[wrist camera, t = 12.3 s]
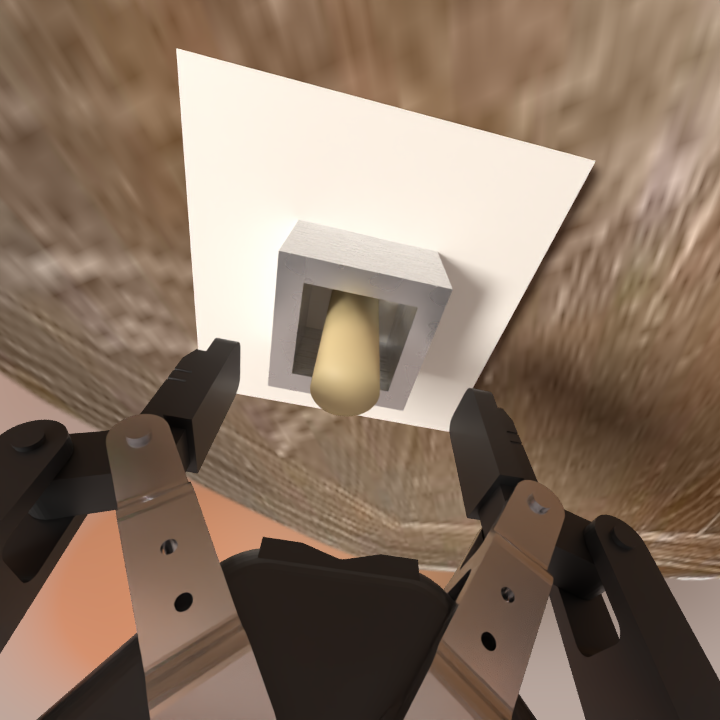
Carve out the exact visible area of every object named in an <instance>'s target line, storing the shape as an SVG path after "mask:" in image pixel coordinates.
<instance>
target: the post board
mask: <svg viewBox="0 0 720 720" xmlns="http://www.w3.org/2000/svg"><path fill="white" fill-rule="evenodd" d="M176 50H177V64H178V78H179V91H180V105H181V119H182V132H183V146H184V160H185V174H186V187H187V201H188V215H189V228H190V242H191V256H192V269H193V283H194V297H195V311H196V324H197V338H198V350H203V351H207V349H208V348H209V346H210V345H211V343H212V342H213V340H214V339H215V338H221V339H226V340H232V341H237V342H239V343H240V348H241V349H240V382H239V387H238V390H237V393H236V394H242V395H248V396H253V397H259V398H264V399H270V400H275V401H281V402H287V403H292V404H298V405H303V406H309V407H314V408H320V409H323V410H325V411H326V412H328V413H331V414H334V415H338V416H356V415H359V416H365V417H370V418H376V419H381V420H387V421H392V422H398V423H404V424H409V425H415V426H420V427H426V428H431V429H437V430H443V431H448V432H449V427H450V421H451V418H452V416H453V414H454V412H455V410H456V408H457V407H458V405H459V403H460V401H461V399H462V397H463V395H464V393H465V392H466V390H467V389H468V388H473V387H474V385H475V383H476V381H477V379H478V377H479V376H480V374H481V372H482V370H483V368H484V366H485V365H486V363H487V361H488V359H489V357H490V355H491V353H492V352H493V350H494V348H495V346H496V344H497V342H498V341H499V339H500V337H501V335H502V333H503V331H504V329H505V328H506V326H507V324H508V322H509V320H510V318H511V316H512V315H513V313H514V311H515V309H516V307H517V305H518V304H519V302H520V300H521V298H522V296H523V294H524V292H525V291H526V289H527V287H528V285H529V283H530V281H531V280H532V278H533V276H534V274H535V272H536V270H537V268H538V267H539V265H540V263H541V261H542V259H543V257H544V256H545V254H546V252H547V250H548V248H549V246H550V244H551V243H552V241H553V239H554V237H555V235H556V233H557V232H558V230H559V228H560V226H561V224H562V222H563V220H564V219H565V217H566V215H567V213H568V211H569V209H570V208H571V206H572V204H573V202H574V200H575V198H576V196H577V195H578V193H579V191H580V189H581V187H582V185H583V184H584V182H585V180H586V178H587V176H588V174H589V172H590V171H591V169H592V167H593V165H594V163H595V161H594V160H590V159H586V158H583V157H579V156H576V155H572V154H568V153H564V152H561V151H557V150H553V149H549V148H546V147H542V146H538V145H535V144H531V143H527V142H523V141H520V140H516V139H512V138H509V137H505V136H501V135H497V134H494V133H490V132H486V131H483V130H479V129H475V128H471V127H468V126H464V125H460V124H456V123H453V122H449V121H445V120H442V119H438V118H434V117H430V116H427V115H423V114H419V113H416V112H412V111H408V110H404V109H401V108H397V107H393V106H390V105H386V104H382V103H378V102H375V101H371V100H367V99H363V98H360V97H356V96H352V95H349V94H345V93H341V92H337V91H334V90H330V89H326V88H323V87H319V86H315V85H311V84H308V83H304V82H300V81H297V80H293V79H289V78H285V77H282V76H278V75H274V74H270V73H267V72H263V71H259V70H256V69H252V68H248V67H244V66H241V65H237V64H233V63H230V62H226V61H222V60H218V59H215V58H211V57H207V56H204V55H200V54H196V53H192V52H188V51H185V50H181V49H177V48H176ZM298 220H303V221H308V222H312V223H316V224H320V225H325V226H329V227H333V228H338V229H342V230H346V231H350V232H355V233H359V234H363V235H368V236H372V237H376V238H381V239H385V240H389V241H393V242H398V243H402V244H406V245H411V246H415V247H419V248H424V249H428V250H432V251H436V252H438V254H439V257H440V259H441V262H442V264H443V267H444V269H445V272H446V274H447V276H448V279H449V281H450V284H451V286H452V289H453V290H452V293H451V295H450V297H449V300H448V302H447V305H446V307H445V310H444V312H443V315H442V317H441V319H440V322H439V324H438V327H437V329H436V332H435V334H434V337H433V339H432V342H431V344H430V346H429V349H428V351H427V354H426V356H425V359H424V361H423V364H422V366H421V369H420V371H419V373H418V376H417V378H416V381H415V383H414V386H413V388H412V391H411V393H410V395H409V398H408V400H407V403H406V405H405V408H404V410H403V411H401V410H396V409H390V408H385V407H379V406H374V405H375V404H376V403H377V401H378V399H379V396H380V357H379V342H384V343H386V342H387V339H388V335H389V332H390V329H391V326H392V323H393V320H394V316H395V313H396V310H397V307H398V304H399V303H395V302H391V301H386V300H381V299H377V298H372V297H367V296H363V295H358V294H353V293H349V292H344V291H339V290H335V289H330V288H326V287H321V286H316V285H312V291H311V297H310V304H309V311H308V318H307V325H306V327H311V328H315V329H320V330H323V332H322V337H321V341H320V345H319V350H318V354H317V359H316V363H315V367H314V372H313V376H312V380H311V385H310V393H311V394H309V393H303V392H298V391H293V390H287V389H282V388H276V387H271V386H268V377H269V365H270V352H271V340H272V327H273V315H274V303H275V290H276V278H277V265H278V253H279V249H280V248H281V246H282V245H283V243H284V242H285V240H286V238H287V237H288V235H289V234H290V232H291V231H292V229H293V228H294V226H295V225H296V223H297V221H298Z"/></svg>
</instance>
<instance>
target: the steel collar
mask: <svg viewBox="0 0 720 720" xmlns="http://www.w3.org/2000/svg"><path fill="white" fill-rule="evenodd" d="M312 285H316V286H321V287H326V288H330V289H335V290H339V291H344V292H349V293H353V294H358V295H363V296H367V297H372V298H377V299H381V300H386V301H391V302H395V303H399V304H398V307H397V310H396V313H395V316H394V320H393V323H392V326H391V329H390V332H389V335H388V339H387V342H386V343H384V342H379V357H380V396H379V399H378V401H377V403H376V404H375V405H374V406H379V407H385V408H390V409H396V410H401V411H403V410H404V408H405V405H406V403H407V400H408V398H409V395H410V393H411V391H412V388H413V386H414V383H415V381H416V378H417V376H418V373H419V371H420V369H421V366H422V364H423V361H424V359H425V356H426V354H427V351H428V349H429V346H430V344H431V342H432V339H433V337H434V334H435V332H436V329H437V327H438V324H439V322H440V319H441V317H442V315H443V312H444V310H445V307H446V305H447V302H448V300H449V297H450V295H451V293H452V290H453V289H452V286H451V284H450V281H449V279H448V276H447V274H446V272H445V269H444V267H443V264H442V262H441V259H440V257H439V254H438V252H436V251H432V250H428V249H424V248H419V247H415V246H411V245H406V244H402V243H398V242H393V241H389V240H385V239H381V238H376V237H372V236H368V235H363V234H359V233H355V232H350V231H346V230H342V229H338V228H333V227H329V226H325V225H320V224H316V223H312V222H308V221H303V220H298V221H297V223H296V225H295V226H294V228H293V229H292V231H291V232H290V234H289V235H288V237H287V238H286V240H285V242H284V243H283V245H282V246H281V248H280V249H279V253H278V265H277V278H276V290H275V303H274V315H273V327H272V340H271V352H270V365H269V377H268V386H271V387H276V388H282V389H287V390H293V391H298V392H303V393H309V394H311V393H310V385H311V380H312V376H313V372H314V367H315V363H316V359H317V354H318V350H319V345H320V341H321V337H322V332H323V330H320V329H315V328H311V327H306V325H307V318H308V311H309V304H310V297H311V291H312Z"/></svg>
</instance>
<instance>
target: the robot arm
mask: <svg viewBox="0 0 720 720" xmlns="http://www.w3.org/2000/svg"><path fill="white" fill-rule="evenodd" d="M240 349H241V348H240V343H239V342H237V341H232V340H226V339H221V338H215V339H214V340H213V342H212V343H211V345H210V346H209V348H208V349H207V351H203V350H198V349H196V350H195V351H193V352H191V353H190V354H188V355H186V356H185V357H183V358H182V359H181V361H180V362H179V363H178V365H177V366H176V367H175V370H173V371H172V373H171V374H170V375H169V377H168V380H167V379H166V381H165V382H164V383H163V385H162V386H161V387H160V389H159V390H158V391H157V393H156V394H155V395H154V397H153V398H152V399H151V400H150V402H149V403H148V404H147V406H146V407H145V408H144V410H143V411H142V412H141V414H139V415H134V416H131V417H128V418H126V419H123V420H122V421H120V422H118V423H117V424H115V425H114V426H113V427H112V428H111V429H110V430H108V431H100V432H88V433H75V434H69V433H68V431H67V429H66V427H65V426H64V425H63V424H61V423H59V422H57V421H53V420H35V421H31V422H26V423H23V424H20V425H17V426H15V427H13V428H11V429H9V430H7V431H6V432H4V433H3V434H1V435H0V653H1V651H2V650H3V648H4V646H5V645H6V644H7V642H8V640H9V639H10V637H11V636H12V634H13V632H14V631H15V629H16V628H17V626H18V624H19V623H20V621H21V620H22V618H23V617H24V615H25V613H26V612H27V610H28V609H29V607H30V605H31V604H32V602H33V601H34V599H35V597H36V596H37V594H38V593H39V591H40V589H41V588H42V586H43V585H44V583H45V581H46V580H47V578H48V577H49V575H50V573H51V572H52V570H53V569H54V567H55V565H56V564H57V562H58V561H59V559H60V558H61V556H62V554H63V553H64V551H65V549H66V548H67V546H68V545H69V543H70V541H71V540H72V538H73V537H74V535H75V534H76V532H77V530H78V529H79V527H80V526H81V524H82V522H83V521H84V519H85V518H86V516H87V514H90V513H97V512H104V511H111V510H116V515H117V522H118V528H119V533H120V539H121V544H122V550H123V556H124V561H125V567H126V572H127V578H128V584H129V589H130V595H131V601H132V606H133V612H134V617H135V623H136V628H137V633H136V634H135V635H134V636H133V637H132V638H130V639H129V640H128V641H127V642H126V643H124V644H123V645H122V646H121V647H120V648H119V649H118V650H117V651H115V652H114V653H113V654H112V655H111V656H110V657H109V658H107V659H106V660H105V661H104V662H103V663H101V664H100V665H99V666H98V667H97V668H96V669H94V670H93V671H92V672H91V673H90V674H89V675H88V676H86V677H85V678H84V679H83V680H82V681H81V682H80V683H78V684H77V685H76V686H75V687H74V688H72V689H71V690H70V691H69V692H68V693H67V694H66V695H64V696H63V697H62V698H61V699H60V700H59V701H57V702H56V703H55V704H54V705H53V706H52V707H51V708H49V709H48V710H47V711H46V712H45V713H44V714H43V715H41V716H40V717H39V718H38V719H37V720H537V719H536V718H535V716H534V715H533V714H532V712H531V711H530V709H529V708H528V707H527V705H526V704H525V702H524V701H523V699H522V698H521V696H520V695H519V690H520V687H521V684H522V681H523V677H524V674H525V671H526V668H527V665H528V661H529V658H530V655H531V652H532V648H533V645H534V642H535V639H536V636H537V633H538V629H539V626H540V623H541V619H542V616H543V613H544V610H545V607H546V604H547V600H548V597H549V596H550V600H551V603H552V606H553V609H554V613H555V617H556V620H557V623H558V627H559V630H560V634H561V637H562V640H563V644H564V647H565V651H566V654H567V658H568V661H569V664H570V668H571V671H572V675H573V678H574V681H575V685H576V688H577V692H578V695H579V699H580V702H581V705H582V709H583V712H584V716H585V719H586V720H720V681H719V679H718V677H717V675H716V673H715V671H714V670H713V668H712V666H711V664H710V662H709V660H708V658H707V657H706V655H705V653H704V651H703V649H702V647H701V646H700V644H699V642H698V640H697V638H696V636H695V635H694V633H693V631H692V629H691V627H690V625H689V624H688V622H687V620H686V618H685V616H684V614H683V613H682V611H681V609H680V607H679V605H678V604H677V602H676V600H675V598H674V596H673V594H672V593H671V591H670V589H669V587H668V585H667V583H666V581H665V580H664V578H663V576H662V574H661V572H660V570H659V569H658V567H657V565H656V563H655V561H654V559H653V558H652V556H651V554H650V552H649V550H648V548H647V547H646V545H645V543H644V541H643V540H642V539H641V537H640V536H639V535H638V534H637V533H636V531H634V530H633V529H632V528H631V527H630V526H629V525H628V524H626V523H625V522H623V521H622V520H620V519H618V518H616V517H613V516H610V515H600V516H598V517H597V518H596V519H595V520H594V521H592V522H590V521H588V520H586V519H584V518H582V517H579V516H577V515H575V514H573V513H571V512H569V511H566V510H564V508H563V505H562V503H561V502H560V500H559V499H558V497H557V496H556V495H555V494H554V493H553V492H552V491H551V490H550V489H548V488H547V487H546V486H544V485H542V484H540V483H538V481H537V479H536V477H535V474H534V472H533V469H532V467H531V464H530V462H529V460H528V457H527V455H526V452H525V450H524V447H523V446H522V445H521V443H522V442H521V440H520V438H519V435H517V430H516V428H515V425H514V423H513V421H512V419H511V418H510V417H509V416H508V415H507V413H506V412H505V411H504V410H503V409H501V408H497V405H496V402H495V400H494V397H493V395H492V393H491V392H488V391H483V390H478V389H473V388H468V389H467V390H466V392H465V393H464V395H463V397H462V399H461V401H460V403H459V405H458V407H457V408H456V410H455V412H454V414H453V416H452V418H451V421H450V427H449V433H450V438H451V443H452V448H453V453H454V457H455V462H456V467H457V472H458V477H459V481H460V486H461V491H462V496H463V501H464V505H465V510H466V515H467V518H471V519H477V520H480V521H481V525H482V528H481V529H480V530H479V532H478V533H477V535H476V537H475V538H474V540H473V542H472V544H471V545H470V547H469V549H468V551H467V552H466V554H465V556H464V558H463V560H462V561H461V563H460V565H459V567H458V568H457V570H456V572H455V574H454V575H453V577H452V578H451V580H450V581H449V583H448V584H447V586H446V587H445V588H444V590H443V589H442V588H441V587H440V586H439V585H438V584H436V583H435V582H434V581H432V580H431V579H429V578H428V577H426V576H424V575H422V574H421V573H419V568H418V560H416V559H409V558H402V557H395V556H388V555H382V554H380V555H373V556H366V557H359V558H351V559H343V560H342V559H338V558H335V557H333V556H331V555H329V554H326V553H324V552H322V551H320V550H317V549H315V548H313V547H311V546H308V545H306V544H304V543H300V542H293V541H287V540H280V539H273V538H266V537H263V539H262V543H261V547H260V549H253V550H249V551H245V552H242V553H239V554H236V555H234V556H231V557H229V558H227V559H226V560H224V561H222V562H220V563H219V560H218V557H217V554H216V551H215V548H214V546H213V542H212V540H211V537H210V534H209V531H208V528H207V525H206V523H205V520H204V517H203V514H202V511H201V508H200V505H199V503H198V499H197V497H196V494H195V491H194V488H193V486H192V484H191V482H188V479H187V477H186V474H185V472H193V473H198V472H199V470H200V468H201V466H202V464H203V462H204V460H205V458H206V455H207V453H208V451H209V449H210V447H211V445H212V443H213V441H214V439H215V437H216V435H217V433H218V431H219V429H220V426H221V424H222V422H223V420H224V418H225V416H226V414H227V412H228V410H229V408H230V406H231V404H232V402H233V400H234V398H235V395H236V393H237V390H238V387H239V382H240ZM604 591H606V594H607V596H608V598H609V601H610V603H611V606H612V608H613V611H614V613H615V616H616V618H617V620H618V623H619V627H620V639H619V637H618V634H617V632H616V629H615V627H614V624H613V622H612V619H611V617H610V614H609V612H608V609H607V607H606V605H605V602H604V600H603V597H602V594H601V593H603V592H604Z"/></svg>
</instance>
